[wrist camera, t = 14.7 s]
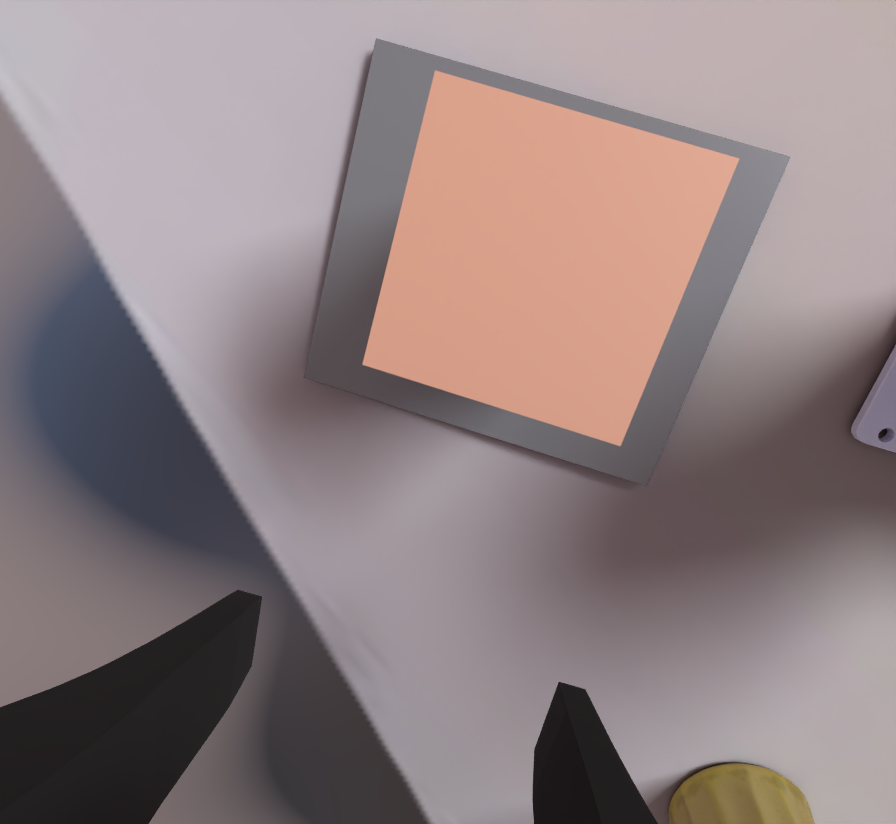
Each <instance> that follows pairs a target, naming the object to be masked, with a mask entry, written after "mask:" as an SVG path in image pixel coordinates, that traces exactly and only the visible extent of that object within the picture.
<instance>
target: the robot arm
mask: <svg viewBox="0 0 896 824" xmlns="http://www.w3.org/2000/svg"><path fill="white" fill-rule="evenodd" d="M885 428H887V434H886V435H885V436H884V437H883V438H881V439H879V438H878V435H879V432H880V431H881V430H883V429H885ZM851 432H852V435H853V436H854V438H855V439H857V440H859V441H861V442H863V443H865V444H868V445H872V446H875V447H878V448H881V449H885V450H888V451H891V452H894V453H896V345H895V347H894V349H893V351H892V353H891V354H890V356H889V358H888V360H887V362H886V364H885V365H884V367H883V369H882V371H881V373H880V375H879V377H878V378H877V380H876V382H875V384H874V386H873V388H872V389H871V391H870V393H869V395H868V397H867V399H866V400H865V402H864V404H863V406H862V408H861V410H860V411H859V413H858V415H857V417H856V419H855V421H854V423H853V425H852V428H851ZM261 600H262V597H261V596H258V595H254V594H251V593H247V592H243V591H240V590H237V591H235V592H233V593H231V594H230V595H228V596H226V597H225V598H223V599H222V600H220V601H218V602H216V603H215V604H213V605H212V606H210V607H209V608H207V609H205V610H203V611H202V612H200V613H198V614H197V615H195V616H194V617H192V618H190V619H189V620H187V621H185V622H184V623H182V624H180V625H178V626H176V627H175V628H173V629H171V630H170V631H168V632H166V633H165V634H163V635H161V636H159V637H157V638H156V639H154V640H152V641H150V642H148V643H147V644H145V645H143V646H141V647H139V648H137V649H135V650H133V651H131V652H129V653H127V654H125V655H124V656H122V657H120V658H118V659H116V660H114V661H112V662H110V663H108V664H106V665H104V666H102V667H100V668H98V669H95V670H93V671H91V672H89V673H87V674H84V675H82V676H80V677H77V678H75V679H73V680H70V681H68V682H66V683H64V684H61V685H59V686H56V687H54V688H51V689H49V690H46V691H43V692H41V693H38V694H35V695H32V696H30V697H27V698H24V699H22V700H19V701H17V702H14V703H11V704H8V705H6V706H3V707H0V824H149V822H150V821H151V819H152V817H153V816H154V814H155V813H156V811H157V810H158V808H159V807H160V805H161V804H162V802H163V801H164V799H165V798H166V797H167V795H168V794H169V792H170V791H171V789H172V788H173V787H174V785H175V784H176V782H177V781H178V779H179V778H180V776H181V775H182V774H183V772H184V771H185V770H186V768H187V767H188V765H189V764H190V762H191V761H192V759H193V758H194V756H195V755H196V754H197V752H198V751H199V749H200V748H201V747H202V745H203V744H204V742H205V741H206V740H207V738H208V737H209V735H210V734H211V732H212V731H213V730H214V728H215V727H216V725H217V724H218V722H219V721H220V720H221V718H222V717H223V715H224V714H225V712H226V711H227V709H228V708H229V706H230V704H231V703H232V701H233V699H234V697H235V695H236V694H237V692H238V690H239V688H240V687H241V685H242V683H243V681H244V679H245V677H246V675H247V673H248V672H249V670H250V668H251V666H252V660H253V653H254V647H255V640H256V633H257V627H258V620H259V614H260V607H261ZM533 814H534V824H658V823H657V822H656V820H655V818H654V817H653V815H652V813H651V812H650V810H649V808H648V807H647V805H646V803H645V802H644V800H643V798H642V797H641V795H640V793H639V791H638V790H637V788H636V786H635V784H634V782H633V781H632V779H631V777H630V775H629V773H628V772H627V770H626V768H625V766H624V764H623V762H622V761H621V759H620V757H619V755H618V753H617V751H616V749H615V747H614V745H613V744H612V742H611V740H610V738H609V736H608V734H607V732H606V730H605V728H604V726H603V724H602V722H601V720H600V718H599V716H598V714H597V712H596V710H595V708H594V706H593V704H592V702H591V700H590V698H589V696H588V694H587V692H586V690H585V689H582V688H579V687H575V686H572V685H568V684H565V683H561V682H559V683H558V686H557V688H556V691H555V694H554V697H553V700H552V702H551V705H550V708H549V711H548V713H547V716H546V719H545V722H544V724H543V727H542V730H541V733H540V736H539V738H538V741H537V744H536V747H535V750H534V772H533Z"/></svg>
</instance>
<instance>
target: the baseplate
mask: <svg viewBox="0 0 896 824" xmlns="http://www.w3.org/2000/svg"><path fill="white" fill-rule="evenodd" d="M435 70H436V71H439V72H443V73H446V74H449V75H453V76H456V77H460V78H463V79H467V80H470V81H474V82H477V83H481V84H484V85H487V86H491V87H494V88H498V89H501V90H505V91H508V92H512V93H515V94H518V95H522V96H525V97H529V98H532V99H536V100H539V101H543V102H546V103H550V104H553V105H556V106H560V107H563V108H567V109H570V110H574V111H577V112H581V113H584V114H587V115H591V116H594V117H598V118H601V119H605V120H608V121H612V122H615V123H619V124H622V125H625V126H629V127H632V128H636V129H639V130H643V131H646V132H650V133H653V134H657V135H660V136H663V137H667V138H670V139H674V140H677V141H681V142H684V143H688V144H691V145H694V146H698V147H701V148H705V149H708V150H712V151H715V152H719V153H722V154H726V155H729V156H732V157H736V158H739V161H738V164H737V166H736V168H735V171H734V173H733V176H732V178H731V181H730V183H729V185H728V188H727V190H726V193H725V195H724V197H723V200H722V202H721V205H720V207H719V210H718V212H717V214H716V217H715V219H714V222H713V224H712V226H711V229H710V231H709V234H708V236H707V239H706V241H705V243H704V246H703V248H702V251H701V253H700V255H699V258H698V260H697V263H696V265H695V268H694V270H693V272H692V275H691V277H690V280H689V282H688V284H687V287H686V289H685V292H684V294H683V297H682V299H681V301H680V304H679V306H678V309H677V311H676V313H675V316H674V318H673V321H672V323H671V325H670V328H669V330H668V333H667V335H666V338H665V340H664V342H663V345H662V347H661V350H660V352H659V354H658V357H657V359H656V362H655V364H654V367H653V369H652V371H651V374H650V376H649V379H648V381H647V383H646V386H645V388H644V391H643V393H642V396H641V398H640V400H639V403H638V405H637V408H636V410H635V412H634V415H633V417H632V420H631V422H630V425H629V427H628V429H627V432H626V434H625V437H624V439H623V441H622V444H621V446H618V445H615V444H612V443H609V442H605V441H602V440H599V439H596V438H593V437H590V436H586V435H583V434H580V433H577V432H574V431H571V430H567V429H564V428H561V427H558V426H555V425H552V424H548V423H545V422H542V421H539V420H536V419H533V418H529V417H526V416H523V415H520V414H517V413H514V412H511V411H507V410H504V409H501V408H498V407H495V406H492V405H488V404H485V403H482V402H479V401H476V400H473V399H469V398H466V397H463V396H460V395H457V394H454V393H450V392H447V391H444V390H441V389H438V388H435V387H432V386H428V385H425V384H422V383H419V382H416V381H413V380H409V379H406V378H403V377H400V376H397V375H394V374H390V373H387V372H384V371H381V370H378V369H375V368H371V367H368V366H365V365H362V364H363V360H364V356H365V352H366V348H367V344H368V340H369V336H370V331H371V327H372V323H373V319H374V315H375V311H376V307H377V303H378V299H379V295H380V291H381V287H382V283H383V279H384V275H385V271H386V267H387V263H388V259H389V255H390V251H391V246H392V242H393V238H394V234H395V230H396V226H397V222H398V218H399V214H400V210H401V206H402V202H403V198H404V194H405V190H406V186H407V182H408V178H409V174H410V170H411V166H412V161H413V157H414V153H415V149H416V145H417V141H418V137H419V133H420V129H421V125H422V121H423V117H424V113H425V109H426V105H427V101H428V97H429V93H430V89H431V85H432V81H433V76H434V72H435ZM789 159H790V157H789V156H786V155H782V154H779V153H775V152H772V151H768V150H765V149H761V148H758V147H754V146H751V145H747V144H744V143H740V142H737V141H733V140H730V139H726V138H723V137H719V136H716V135H712V134H709V133H705V132H702V131H698V130H695V129H691V128H688V127H684V126H681V125H677V124H674V123H670V122H667V121H663V120H660V119H656V118H653V117H649V116H646V115H642V114H639V113H635V112H632V111H628V110H625V109H621V108H618V107H614V106H611V105H607V104H604V103H600V102H597V101H593V100H590V99H586V98H583V97H579V96H576V95H572V94H569V93H565V92H562V91H558V90H555V89H551V88H548V87H544V86H541V85H537V84H534V83H530V82H527V81H523V80H520V79H516V78H513V77H509V76H506V75H502V74H499V73H495V72H492V71H488V70H485V69H481V68H478V67H474V66H471V65H467V64H464V63H460V62H457V61H453V60H450V59H446V58H443V57H439V56H436V55H432V54H429V53H425V52H422V51H418V50H415V49H411V48H408V47H404V46H401V45H397V44H394V43H390V42H387V41H383V40H380V39H376V41H375V45H374V50H373V55H372V59H371V64H370V69H369V73H368V78H367V83H366V88H365V92H364V97H363V102H362V106H361V111H360V116H359V120H358V125H357V130H356V135H355V139H354V144H353V149H352V153H351V158H350V163H349V167H348V172H347V177H346V181H345V186H344V191H343V196H342V200H341V205H340V210H339V214H338V219H337V224H336V228H335V233H334V238H333V243H332V247H331V252H330V257H329V261H328V266H327V271H326V275H325V280H324V285H323V290H322V294H321V299H320V304H319V308H318V313H317V318H316V322H315V327H314V332H313V336H312V341H311V346H310V351H309V355H308V360H307V365H306V369H305V374H304V378H307V379H310V380H313V381H316V382H319V383H322V384H326V385H329V386H332V387H335V388H338V389H341V390H345V391H348V392H351V393H354V394H357V395H360V396H363V397H367V398H370V399H373V400H376V401H379V402H382V403H386V404H389V405H392V406H395V407H398V408H401V409H405V410H408V411H411V412H414V413H417V414H420V415H423V416H427V417H430V418H433V419H436V420H439V421H442V422H446V423H449V424H452V425H455V426H458V427H461V428H464V429H468V430H471V431H474V432H477V433H480V434H483V435H487V436H490V437H493V438H496V439H499V440H502V441H506V442H509V443H512V444H515V445H518V446H521V447H524V448H528V449H531V450H534V451H537V452H540V453H543V454H547V455H550V456H553V457H556V458H559V459H562V460H565V461H569V462H572V463H575V464H578V465H581V466H584V467H588V468H591V469H594V470H597V471H600V472H603V473H607V474H610V475H613V476H616V477H619V478H622V479H625V480H629V481H632V482H635V483H638V484H641V485H644V486H647V484H648V481H649V479H650V477H651V475H652V472H653V470H654V468H655V465H656V463H657V461H658V459H659V456H660V454H661V452H662V449H663V447H664V445H665V443H666V440H667V438H668V436H669V433H670V431H671V429H672V427H673V424H674V422H675V420H676V417H677V415H678V413H679V411H680V408H681V406H682V404H683V401H684V399H685V397H686V395H687V392H688V390H689V388H690V385H691V383H692V381H693V379H694V376H695V374H696V372H697V369H698V367H699V365H700V363H701V360H702V358H703V356H704V353H705V351H706V349H707V347H708V344H709V342H710V340H711V337H712V335H713V333H714V331H715V328H716V326H717V324H718V321H719V319H720V317H721V315H722V312H723V310H724V308H725V305H726V303H727V301H728V299H729V296H730V294H731V292H732V289H733V287H734V285H735V283H736V280H737V278H738V276H739V273H740V271H741V269H742V267H743V264H744V262H745V260H746V257H747V255H748V253H749V251H750V248H751V246H752V244H753V241H754V239H755V237H756V235H757V232H758V230H759V228H760V225H761V223H762V221H763V219H764V216H765V214H766V212H767V209H768V207H769V205H770V203H771V200H772V198H773V196H774V193H775V191H776V189H777V187H778V184H779V182H780V180H781V177H782V175H783V173H784V170H785V168H786V166H787V164H788V161H789Z"/></svg>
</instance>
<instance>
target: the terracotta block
mask: <svg viewBox="0 0 896 824" xmlns="http://www.w3.org/2000/svg"><path fill="white" fill-rule="evenodd" d="M738 161H739V158H736V157H732V156H729V155H726V154H722V153H719V152H715V151H712V150H708V149H705V148H701V147H698V146H694V145H691V144H688V143H684V142H681V141H677V140H674V139H670V138H667V137H663V136H660V135H657V134H653V133H650V132H646V131H643V130H639V129H636V128H632V127H629V126H625V125H622V124H619V123H615V122H612V121H608V120H605V119H601V118H598V117H594V116H591V115H587V114H584V113H581V112H577V111H574V110H570V109H567V108H563V107H560V106H556V105H553V104H550V103H546V102H543V101H539V100H536V99H532V98H529V97H525V96H522V95H518V94H515V93H512V92H508V91H505V90H501V89H498V88H494V87H491V86H487V85H484V84H481V83H477V82H474V81H470V80H467V79H463V78H460V77H456V76H453V75H449V74H446V73H443V72H439V71H436V70H435V72H434V76H433V81H432V85H431V89H430V93H429V97H428V101H427V105H426V109H425V113H424V117H423V121H422V125H421V129H420V133H419V137H418V141H417V145H416V149H415V153H414V157H413V161H412V166H411V170H410V174H409V178H408V182H407V186H406V190H405V194H404V198H403V202H402V206H401V210H400V214H399V218H398V222H397V226H396V230H395V234H394V238H393V242H392V246H391V251H390V255H389V259H388V263H387V267H386V271H385V275H384V279H383V283H382V287H381V291H380V295H379V299H378V303H377V307H376V311H375V315H374V319H373V323H372V327H371V331H370V336H369V340H368V344H367V348H366V352H365V356H364V360H363V364H362V365H365V366H368V367H371V368H375V369H378V370H381V371H384V372H387V373H390V374H394V375H397V376H400V377H403V378H406V379H409V380H413V381H416V382H419V383H422V384H425V385H428V386H432V387H435V388H438V389H441V390H444V391H447V392H450V393H454V394H457V395H460V396H463V397H466V398H469V399H473V400H476V401H479V402H482V403H485V404H488V405H492V406H495V407H498V408H501V409H504V410H507V411H511V412H514V413H517V414H520V415H523V416H526V417H529V418H533V419H536V420H539V421H542V422H545V423H548V424H552V425H555V426H558V427H561V428H564V429H567V430H571V431H574V432H577V433H580V434H583V435H586V436H590V437H593V438H596V439H599V440H602V441H605V442H609V443H612V444H615V445H618V446H621V444H622V441H623V439H624V437H625V434H626V432H627V429H628V427H629V425H630V422H631V420H632V417H633V415H634V412H635V410H636V408H637V405H638V403H639V400H640V398H641V396H642V393H643V391H644V388H645V386H646V383H647V381H648V379H649V376H650V374H651V371H652V369H653V367H654V364H655V362H656V359H657V357H658V354H659V352H660V350H661V347H662V345H663V342H664V340H665V338H666V335H667V333H668V330H669V328H670V325H671V323H672V321H673V318H674V316H675V313H676V311H677V309H678V306H679V304H680V301H681V299H682V297H683V294H684V292H685V289H686V287H687V284H688V282H689V280H690V277H691V275H692V272H693V270H694V268H695V265H696V263H697V260H698V258H699V255H700V253H701V251H702V248H703V246H704V243H705V241H706V239H707V236H708V234H709V231H710V229H711V226H712V224H713V222H714V219H715V217H716V214H717V212H718V210H719V207H720V205H721V202H722V200H723V197H724V195H725V193H726V190H727V188H728V185H729V183H730V181H731V178H732V176H733V173H734V171H735V168H736V166H737V164H738Z"/></svg>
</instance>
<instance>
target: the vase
mask: <svg viewBox="0 0 896 824" xmlns="http://www.w3.org/2000/svg"><path fill="white" fill-rule="evenodd" d="M669 823H670V824H815V823H814V820H813V817H812V813H811V810H810V807H809V804H808V802H807V800H806V798H805V796H804V795H803V793H802V792H801V791H800V789H799V788H798V787H796V786H795V785H794V784H793V783H792V782H791V781H789V780H788V779H786V778H785V777H783V776H782V775H780V774H778V773H776V772H774V771H772V770H770V769H768V768H764V767H760V766H756V765H751V764H743V763H731V764H722V765H717V766H713V767H710V768H707V769H704V770H702V771H700V772H698V773H696V774H694V775H693V776H691V777H690V778H688V779H687V780H685V781H684V782H683V783H682V784H681V785H680V786H679V788H678V789H677V790H676V792H675V794H674V795H673V797H672V799H671V802H670V806H669Z"/></svg>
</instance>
